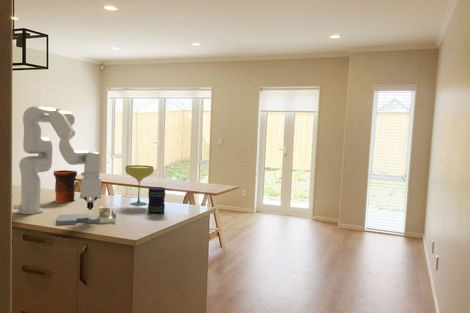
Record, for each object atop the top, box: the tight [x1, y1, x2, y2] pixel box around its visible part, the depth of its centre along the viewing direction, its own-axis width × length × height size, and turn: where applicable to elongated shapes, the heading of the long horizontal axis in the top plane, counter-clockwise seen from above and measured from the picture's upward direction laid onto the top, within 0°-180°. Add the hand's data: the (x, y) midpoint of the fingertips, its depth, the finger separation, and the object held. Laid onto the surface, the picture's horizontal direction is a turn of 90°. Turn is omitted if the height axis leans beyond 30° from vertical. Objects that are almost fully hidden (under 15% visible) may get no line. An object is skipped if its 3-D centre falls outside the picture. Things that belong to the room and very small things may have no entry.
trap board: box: [56, 208, 117, 226], centre depth 200 cm, size 28×14×4 cm, turn 113°
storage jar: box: [147, 186, 166, 215], centre depth 226 cm, size 10×10×15 cm
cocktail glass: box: [125, 164, 154, 207], centre depth 250 cm, size 18×18×25 cm
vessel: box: [53, 169, 78, 203], centre depth 250 cm, size 14×14×20 cm
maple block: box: [98, 205, 111, 217], centre depth 202 cm, size 5×5×5 cm
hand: (90, 209), depth 201 cm, fingers closed
